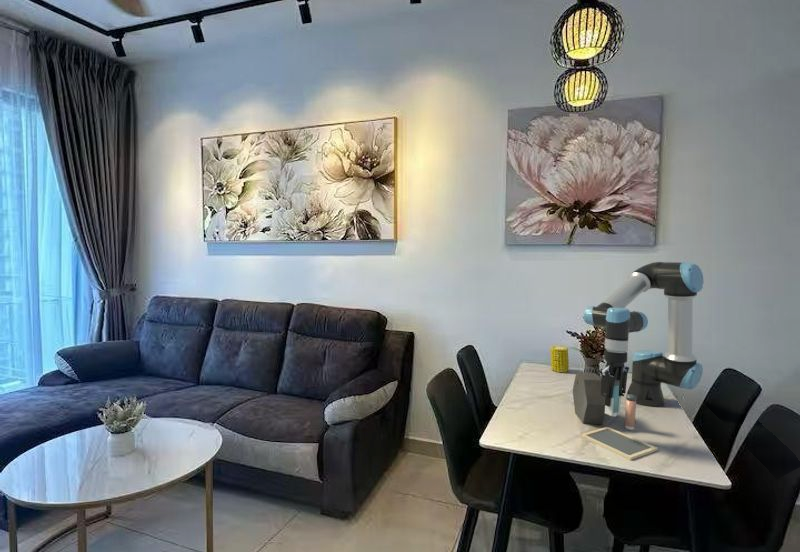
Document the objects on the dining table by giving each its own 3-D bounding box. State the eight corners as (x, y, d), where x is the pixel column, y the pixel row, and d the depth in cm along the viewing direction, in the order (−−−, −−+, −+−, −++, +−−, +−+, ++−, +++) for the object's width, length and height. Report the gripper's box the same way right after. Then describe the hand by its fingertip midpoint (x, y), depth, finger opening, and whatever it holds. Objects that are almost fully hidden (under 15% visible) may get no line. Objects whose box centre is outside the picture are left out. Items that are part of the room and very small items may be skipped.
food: (571, 375, 239) (555, 376, 237) (559, 365, 250) (544, 366, 247) (575, 350, 234) (559, 352, 232) (563, 341, 245) (547, 342, 243)
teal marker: (610, 412, 158) (612, 378, 157) (619, 415, 155) (621, 380, 154) (604, 413, 156) (606, 379, 155) (613, 417, 153) (615, 382, 152)
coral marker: (628, 426, 167) (629, 393, 166) (636, 429, 164) (638, 396, 163) (622, 427, 165) (624, 395, 164) (631, 431, 162) (633, 398, 161)
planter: (610, 420, 160) (601, 366, 171) (588, 418, 161) (581, 365, 171) (596, 428, 175) (589, 378, 185) (576, 426, 176) (570, 377, 186)
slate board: (607, 428, 164) (607, 426, 164) (657, 450, 147) (658, 447, 147) (580, 436, 156) (580, 434, 156) (630, 460, 139) (630, 457, 139)
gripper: (620, 346, 161) (616, 406, 162) (591, 350, 153) (588, 413, 155) (639, 350, 154) (635, 413, 156) (610, 355, 147) (607, 421, 148)
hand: (612, 413), depth 155 cm, fingers closed on teal marker, 3 cm apart
